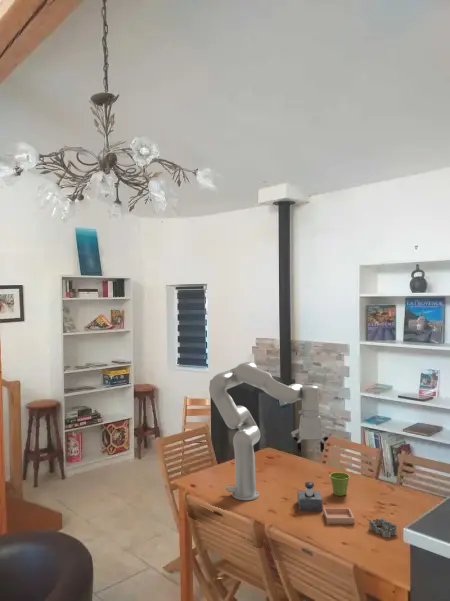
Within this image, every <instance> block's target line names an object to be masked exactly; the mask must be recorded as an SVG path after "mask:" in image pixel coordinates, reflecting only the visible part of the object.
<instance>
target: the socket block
mask: <svg viewBox="0 0 450 601" xmlns="http://www.w3.org/2000/svg"><path fill="white" fill-rule="evenodd" d="M296 493H297V504H298V509H299V512H300V511H301V512H304V511H305V512H310V511H311V512H323V508H324V506H323V504H324V503H323V497H322V494H321V492H320V490H313V497H306V490H297V492H296Z"/></svg>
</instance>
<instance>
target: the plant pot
mask: <svg viewBox="0 0 450 601" xmlns="http://www.w3.org/2000/svg"><path fill="white" fill-rule="evenodd" d="M350 477H351V476H350V475H349V474H348V473H346V472H341V471H337V472H335V471H334V472H331V473H330V474H329V478H330V480H331V486H332V487H331V488H332V493H333V495H336V496H338V497H343V496H346V495H347V492H348V484H349V480H350Z"/></svg>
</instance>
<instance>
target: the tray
mask: <svg viewBox="0 0 450 601" xmlns="http://www.w3.org/2000/svg"><path fill="white" fill-rule="evenodd" d="M322 512H323V517H324V520H325V522H326V525H355V522H356V521H355V517H354V514H353V513H352V510H351V507H323V511H322Z"/></svg>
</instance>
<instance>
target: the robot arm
mask: <svg viewBox="0 0 450 601" xmlns="http://www.w3.org/2000/svg"><path fill="white" fill-rule="evenodd" d="M243 383H245V384H247V385H250V386H252V387H256V388H257V389H260V390H262V391H263V392H265V393H266V394H267V395H269V396H270V397H272V398H274V399H275V400H278V401H281V402H284V403H286V404H293V403H295V402H297V401H301V410H298V414H299V415H300V414H301V415H300V418H299V425H298V426H299V427H298V428H297V429H295V430H293V431H291V433H290V434H291V437H292V438H293V440H295V441H296V442H297V450H298V451H299V453H302V441H303V440H309V441H310V440H311V441H312V440H313V441H315V440H316V441H317V440H320V442H319V445H320V446H319V447H320V448H319V451H320V452H321V453H324V452H323V451H324V450H325V444H326V442H327V441H328V439H329V438H330V435H331V433H330V432H329V431H327V429H326V430H325V429H324V428H323V422H322V417H321V416H320V407H319V406H320V405H319V404H320V402H319V400H320V399H319V398H320V396H319V394H320V392H319V390H320V389H319V387H318V386H316V385H313V384H311V385H309V384H307V385H305V384H301V383H292V384H289V385H286V384H284V383H281V382H279V381H277V380H276V379H274V377H273V376H272V375H271V373H270V372H267V371H266V370H264V369H260V368H258V367H257V365H256V364H255V363H254V362H252V361H245V362H242V363H239V364H238V365H237V366H235V367H233V368H230V369H229V370H226V371H223V372H220V373H217V374H215V375H214V376H213V377H212V379H211V380H210V382H209V388H208V391H209V392H208V393H209V396H210V398H211V400H212V402H213V403H214V405H215V406H216V408H217V410H218V412H219V414H220V416H221V418H222V420H223V421H224V423H225V425H226V426H227V427H228V428H229V429H231V430H235V429H238V431H236V432H235V434H234V435H233V439H232V445H233V451H234V480H235V481H234V482H235V483H234V485H232V486H225V491H228V493H231V497H232V498H234V499H235V500H239V501H252V500H256V499H257V498H259V495H260V493H259V491H257V490H256V456H255V451H254V446H255V445H256V444H257V443H258V442H260V439H261V430H260V428H259V427H258V425H257V422H256V421H255V420H254V418H253V416H252V414H251V412H250V410H249V409H248V408H247V407H245V406H244V405H236V403H235V401H234V399H233V398H232V396H231V395H230V394H229V393H228V390H229V389H231V388H234V387H237V386H238V385H241V384H243ZM297 434H298V435H299V436H298V437H297V436H296V435H297ZM323 434H325V436H324V437H323Z"/></svg>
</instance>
